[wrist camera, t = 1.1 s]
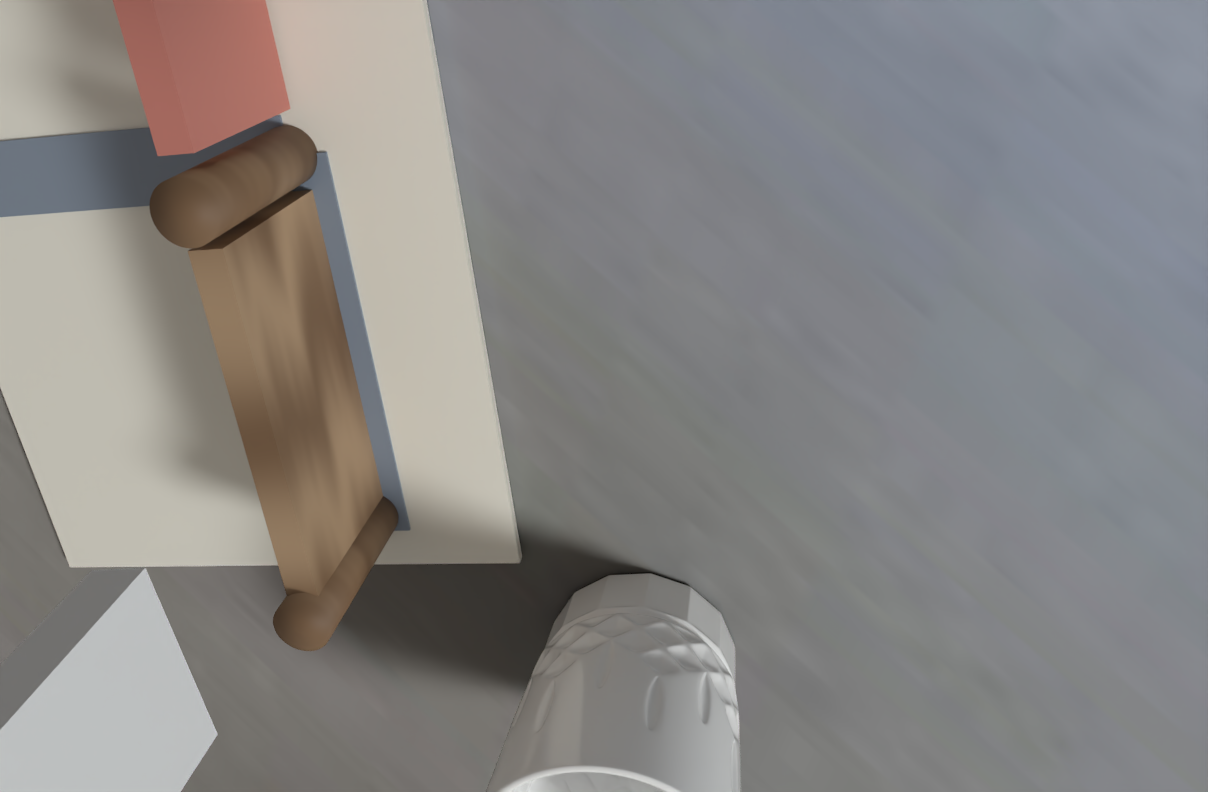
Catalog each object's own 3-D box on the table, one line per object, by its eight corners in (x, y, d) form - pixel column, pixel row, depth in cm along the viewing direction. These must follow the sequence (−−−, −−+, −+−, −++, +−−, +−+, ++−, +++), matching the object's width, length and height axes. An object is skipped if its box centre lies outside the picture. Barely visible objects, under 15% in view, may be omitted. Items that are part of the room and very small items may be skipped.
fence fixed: (255, 127, 32) (140, 181, 26) (310, 122, 32) (206, 175, 26) (356, 534, 38) (280, 650, 32) (403, 533, 38) (336, 651, 32)
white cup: (779, 705, 39) (780, 946, 30) (586, 744, 42) (534, 979, 33) (707, 533, 36) (684, 743, 28) (504, 585, 39) (423, 794, 30)
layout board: (-230, -234, 30) (-245, -236, 30) (368, -338, 27) (361, -342, 26) (76, 561, 41) (68, 568, 41) (522, 556, 38) (519, 564, 38)
